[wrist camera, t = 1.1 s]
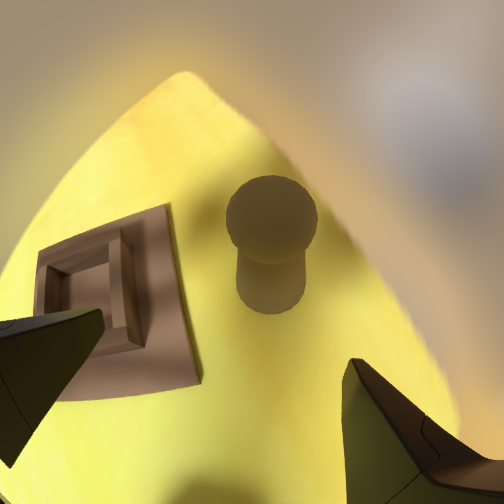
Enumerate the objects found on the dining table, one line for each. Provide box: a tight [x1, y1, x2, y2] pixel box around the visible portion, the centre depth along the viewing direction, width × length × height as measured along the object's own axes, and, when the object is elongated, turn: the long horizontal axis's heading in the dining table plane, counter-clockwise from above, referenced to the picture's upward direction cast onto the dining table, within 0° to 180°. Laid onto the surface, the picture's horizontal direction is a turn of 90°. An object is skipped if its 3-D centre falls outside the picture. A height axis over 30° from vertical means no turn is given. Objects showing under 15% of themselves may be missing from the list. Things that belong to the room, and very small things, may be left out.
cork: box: [226, 175, 318, 314], centre depth 19 cm, size 6×6×11 cm
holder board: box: [33, 205, 201, 402], centre depth 21 cm, size 18×18×4 cm
